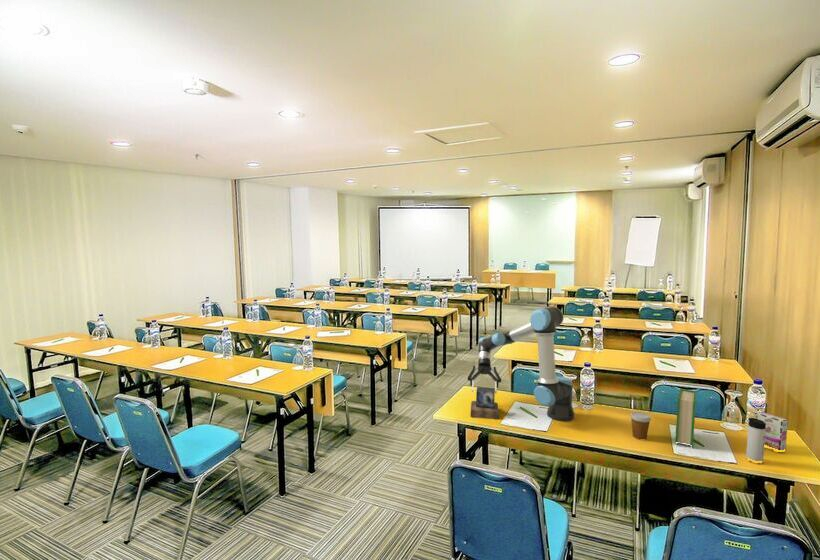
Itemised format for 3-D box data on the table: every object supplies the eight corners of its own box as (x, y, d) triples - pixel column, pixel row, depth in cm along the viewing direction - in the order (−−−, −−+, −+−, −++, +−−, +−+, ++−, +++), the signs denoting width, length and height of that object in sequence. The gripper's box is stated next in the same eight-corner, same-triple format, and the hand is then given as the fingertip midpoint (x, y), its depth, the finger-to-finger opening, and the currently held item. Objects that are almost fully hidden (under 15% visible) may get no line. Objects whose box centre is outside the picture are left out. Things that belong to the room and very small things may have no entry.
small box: (475, 407, 252) (476, 389, 251) (476, 403, 259) (477, 386, 258) (493, 409, 250) (494, 391, 249) (494, 405, 256) (495, 388, 255)
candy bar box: (786, 452, 208) (788, 419, 207) (779, 454, 206) (782, 421, 205) (760, 442, 218) (762, 411, 217) (754, 443, 217) (756, 412, 215)
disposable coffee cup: (651, 442, 217) (652, 419, 216) (630, 439, 220) (631, 417, 219) (648, 434, 226) (649, 412, 225) (628, 432, 229) (629, 410, 228)
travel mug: (742, 456, 203) (745, 416, 201) (759, 458, 201) (762, 417, 200) (748, 463, 197) (751, 421, 195) (765, 465, 195) (769, 423, 194)
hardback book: (692, 448, 211) (695, 401, 209) (675, 444, 215) (677, 398, 213) (693, 435, 226) (696, 391, 224) (677, 432, 230) (679, 388, 228)
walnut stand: (497, 408, 261) (497, 402, 260) (498, 419, 245) (498, 412, 245) (471, 406, 263) (471, 400, 263) (470, 417, 248) (470, 410, 247)
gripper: (504, 364, 269) (505, 395, 255) (464, 362, 273) (463, 393, 259) (505, 358, 263) (506, 390, 249) (464, 356, 267) (463, 387, 253)
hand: (484, 391), depth 254 cm, fingers open, 13 cm apart
